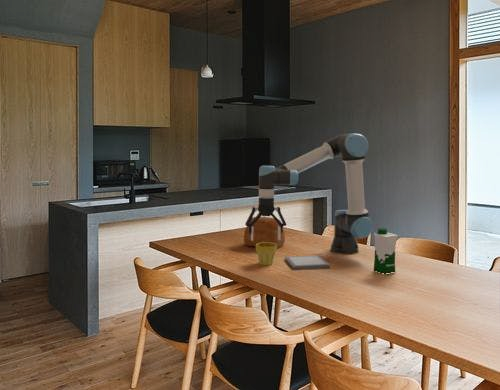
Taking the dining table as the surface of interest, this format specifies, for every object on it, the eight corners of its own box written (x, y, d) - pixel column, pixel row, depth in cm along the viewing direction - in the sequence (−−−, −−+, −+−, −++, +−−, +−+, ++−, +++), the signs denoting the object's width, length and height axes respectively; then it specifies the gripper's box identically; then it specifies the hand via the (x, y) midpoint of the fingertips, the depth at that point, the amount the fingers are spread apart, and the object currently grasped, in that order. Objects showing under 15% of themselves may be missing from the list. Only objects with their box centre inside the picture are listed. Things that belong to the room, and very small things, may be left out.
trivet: (318, 258, 233) (318, 255, 233) (329, 267, 216) (329, 264, 215) (285, 259, 231) (285, 256, 230) (293, 269, 213) (293, 266, 213)
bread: (273, 251, 249) (273, 221, 247) (241, 246, 260) (240, 217, 259) (287, 244, 264) (287, 216, 262) (256, 240, 275) (256, 213, 273)
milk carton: (384, 268, 215) (385, 227, 212) (398, 273, 207) (400, 230, 204) (370, 270, 211) (371, 229, 208) (384, 275, 203) (386, 232, 200)
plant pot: (274, 267, 217) (275, 247, 216) (253, 265, 219) (254, 246, 218) (277, 261, 227) (278, 242, 226) (257, 260, 229) (257, 241, 228)
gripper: (289, 196, 225) (288, 237, 227) (240, 196, 221) (239, 238, 224) (293, 198, 217) (291, 241, 220) (242, 198, 214) (241, 241, 216)
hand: (265, 239), depth 222 cm, fingers open, 13 cm apart
